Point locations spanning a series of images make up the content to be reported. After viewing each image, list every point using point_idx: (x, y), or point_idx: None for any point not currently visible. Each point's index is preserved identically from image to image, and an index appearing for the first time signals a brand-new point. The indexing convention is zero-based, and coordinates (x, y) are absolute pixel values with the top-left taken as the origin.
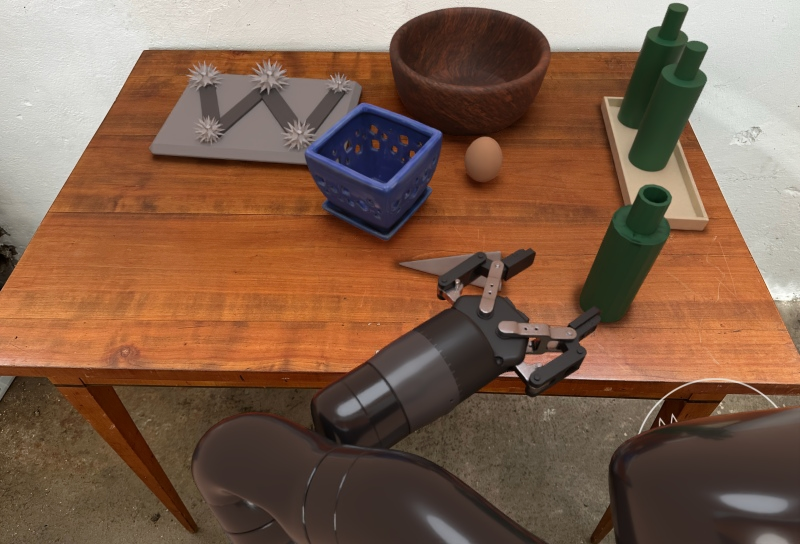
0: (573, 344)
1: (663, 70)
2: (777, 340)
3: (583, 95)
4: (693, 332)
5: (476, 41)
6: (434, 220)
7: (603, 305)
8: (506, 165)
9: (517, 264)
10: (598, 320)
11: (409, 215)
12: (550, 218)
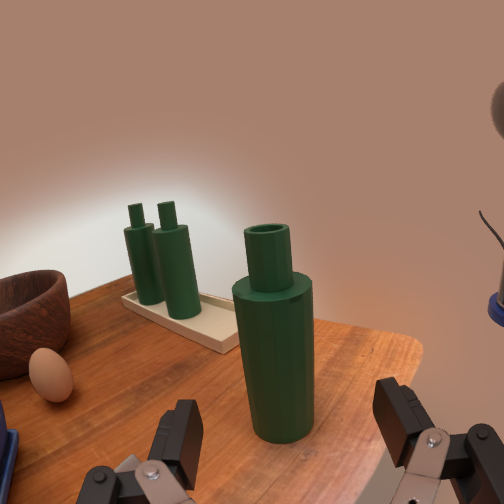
0: (453, 445)
1: (153, 232)
2: (390, 335)
3: (106, 306)
4: (360, 375)
5: (10, 304)
6: (40, 465)
7: (298, 416)
8: (78, 376)
9: (186, 442)
10: (408, 390)
11: (6, 471)
12: (153, 393)
